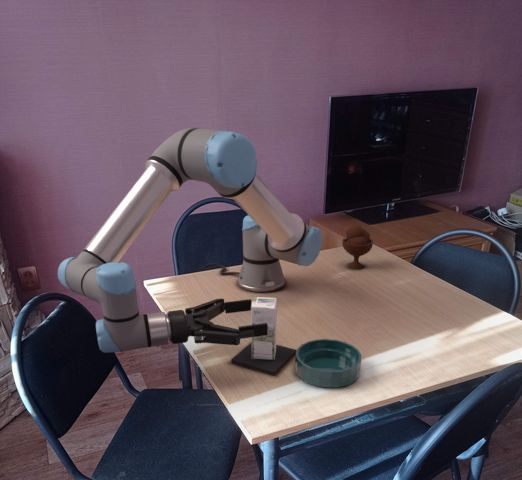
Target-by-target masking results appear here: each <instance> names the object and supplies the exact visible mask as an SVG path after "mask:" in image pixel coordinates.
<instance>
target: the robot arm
mask: <svg viewBox="0 0 522 480" xmlns="http://www.w3.org/2000/svg"><path fill="white" fill-rule="evenodd" d="M256 156H257V151H256V148H255V146H254V144H253V143H252V141H251V140H250V138H248V137H246V136H245V135H244V134H242V133H238V132H236V131H232V130H216V129H215V130H214V129H205V128H197V127H187V128H183V129H181V130H179V131H177V132H175V133H173V134H172V135H171V136H169V137H168V138H166V140H164V141H163V142H162V143H161V144H160V145H159V146H158V147H157V148H156V149H155V150H154V152H152V154H151V155H150V156H149V157H148V158H147V160H146V161H145V163H144V167H145V170H144V171H143V173H142V174H141V175H140V176H139V178H138V179H137V180H136V182H135V183H134V184H133V185H132V187H131V188H130V189H129V190H128V192H127V193H126V194H125V196H124V197H123V198H122V200H121V201H120V202H119V204H118V205H117V206H116V207H115V209H114V210H113V211H112V212H111V214H110V215H109V216H108V218H107V219H106V220H105V222H104V223H103V224H102V225H101V227H100V228H99V229H98V230H97V232H96V233H95V234H94V236H93V237H92V238H91V240H89V242H88V243H87V244H86V245H85V247H84V248H83V250H82V251H81V252H80V253H79V255H78V256H70V257H67V258H66V259H64V260H63V261H62V262H61V263H60V264H59V266H58V268H57V278H58V281H59V282H60V284H61V285H62V286H63V287H65V288H66V289H68V290H69V291H71V292H72V293H75V294H78V295H80V296H82V297H85V298H87V299H89V300H92V301H94V302H96V303H98V304H100V306H101V311H102V315H103V318H101V319H98V320H96V321H95V331H96V337H97V338H96V339H97V344H98V348H99V350H100V352H102V353H104V354H105V353H106V354H107V353H123V352H127V351H132V350H139V349H146V348H153V347H156V348H160V347H162V346H168V345H169V344H170V343H171V344H173V345H179V344H185V343H187V342H189V337H193V339H194V343H195V344H213V345H214V344H215V345H224V346H225V345H227V346H240V345H241V340H242V339H250V338H251V337H258V336H265V335H268V324H267V323H263V324H255V325H251V324H247V325H241V326H238V328H235V327H229V326H226V325H225V326H224V325H219V324H215V323H214V322H213V321H211V320H213V319H215V318H216V317H218V316H220V315H221V314H224V313H225V314H234V313H241V312H251V305H252V301H253V299H252V298H250V299H240V300H234V301H225V299H224V298H215V299H213V300H209V301H206V302H204V303H201V304H197V305H196V306H195V305H194V306H192V307H186V308H185V309H184V310H183V309H175V310H169V311H168V312H167V313H165V312H164V311H158V312H150V313H145V314H140V310H139V303H138V295H137V293H138V292H137V282H136V280H135V274H134V270H133V268H132V266H131V265H130V264H128V263H126V262H119V261H120V260H121V258H122V257H123V256H124V255H125V253H126V252H127V250H129V248H130V246H131V245H132V244H133V243H134V241H135V240H136V239H137V238H138V236H139V235H140V234H141V232H142V231H143V229H144V228H145V227H146V225H147V224H148V223H149V222H150V220H151V219H152V218H153V216H154V215H155V214H156V212H157V211H158V210H159V208H160V207H161V206H162V205H163V203H164V202H165V201H166V199H167V198H168V196H169V195H170V194H171V192H177V191H178V190H179V189H180V188H181V186H182V185H183V184H184V183H186V182H189V181H195V182H201V183H205V184H208V185H209V186H211V188H212V189H213V190H214V191H215V192H216V193H217V194H218V195H220V196H221V197H222V198H224V199H232V200H233V201H234V202H235V203H236V204H237V205H238V206H239V207H240V208H241V209H242V211H244V212H245V213H246V214H247V215H246V216H245V217H244V218H243V219H242V228H241V230H242V254H243V262H242V265H241V268H240V271H226V270H227V267H226V266H225V265H223V264H220V263H217V262H209V263H207V264H205V266H204V268H208V267H209V266H216V267H220V268H222V269H221V270H219V273H220V274H221V275H238V280H237V281H238V286H239V287H240V288H241V289H243V290H246V291H249V292H254V293H268V292H275V291H278V290H280V289H282V288H283V287H284V286H285V283H286V282H285V279H286V278H285V275H284V271H283V269H282V265H281V262H280V261H284V262H287V263H291V264H295V265H297V266H302V267H309V266H311V265H312V264H313V263H314V262H316V260H317V259H318V257H319V255H320V252H321V249H322V245H323V233H322V230H321V229H320V228H318V227H316V226H315V225H313V226H311V225H308V224H307V222H305V221H304V219H303V218H302V217H301V216H299V214H297V213H292V212H290V211H289V209H287V208H286V207H285V205H284V204H283V202H281V201H280V199H279V198H278V196H276V195H275V194H274V192H273V191H272V189H270V187H269V186H268V185H267V183H265V182H264V181H263V179H262V178H261V177H260V176H259V174H258V158H256Z"/></svg>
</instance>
